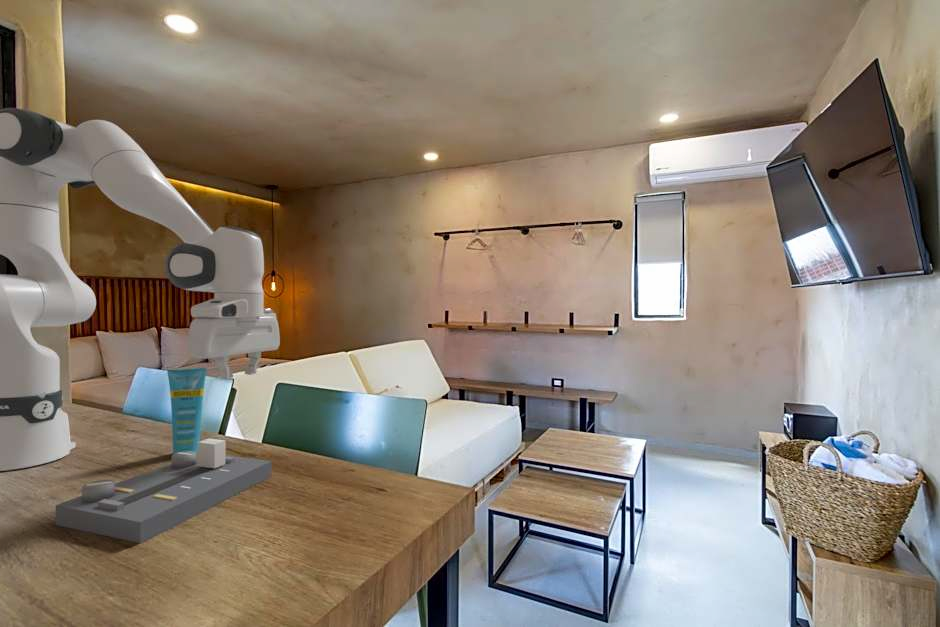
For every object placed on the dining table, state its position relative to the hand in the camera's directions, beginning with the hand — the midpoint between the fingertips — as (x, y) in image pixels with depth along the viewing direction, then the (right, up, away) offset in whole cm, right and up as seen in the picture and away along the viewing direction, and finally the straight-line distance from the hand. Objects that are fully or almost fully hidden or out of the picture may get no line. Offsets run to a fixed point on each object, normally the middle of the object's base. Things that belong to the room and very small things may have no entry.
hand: (238, 376), depth 90 cm
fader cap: (-2, -16, -6) cm, 17 cm away
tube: (-17, -19, +10) cm, 27 cm away
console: (-4, -19, -13) cm, 23 cm away
